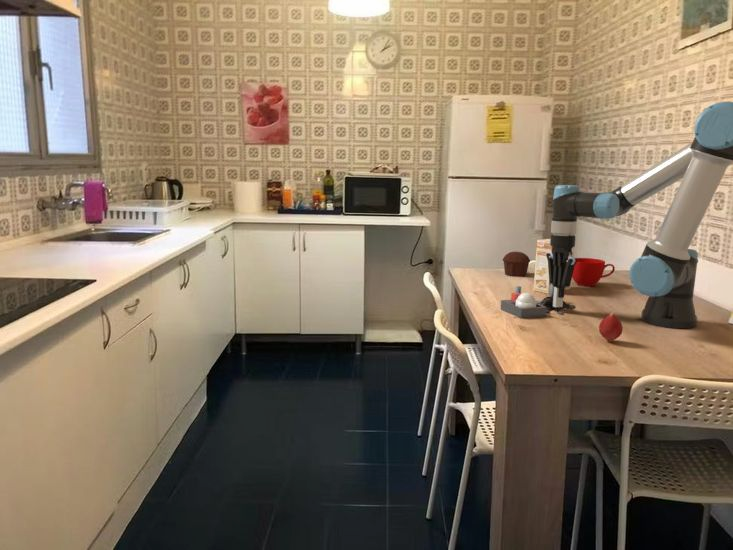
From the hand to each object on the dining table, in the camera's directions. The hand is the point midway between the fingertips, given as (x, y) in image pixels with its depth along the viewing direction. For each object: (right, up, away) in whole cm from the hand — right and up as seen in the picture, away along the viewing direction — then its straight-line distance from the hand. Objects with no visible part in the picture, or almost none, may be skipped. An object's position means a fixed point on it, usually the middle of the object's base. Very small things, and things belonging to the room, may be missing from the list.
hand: (557, 306), depth 189 cm
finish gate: (-4, +1, +12) cm, 13 cm away
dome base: (-12, -2, -2) cm, 12 cm away
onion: (+3, -8, -32) cm, 33 cm away
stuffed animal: (+1, -2, +3) cm, 4 cm away
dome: (-11, -2, -4) cm, 12 cm away
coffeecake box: (+9, +4, +34) cm, 35 cm away
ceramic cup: (+28, +6, +44) cm, 52 cm away
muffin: (+3, +10, +64) cm, 65 cm away
